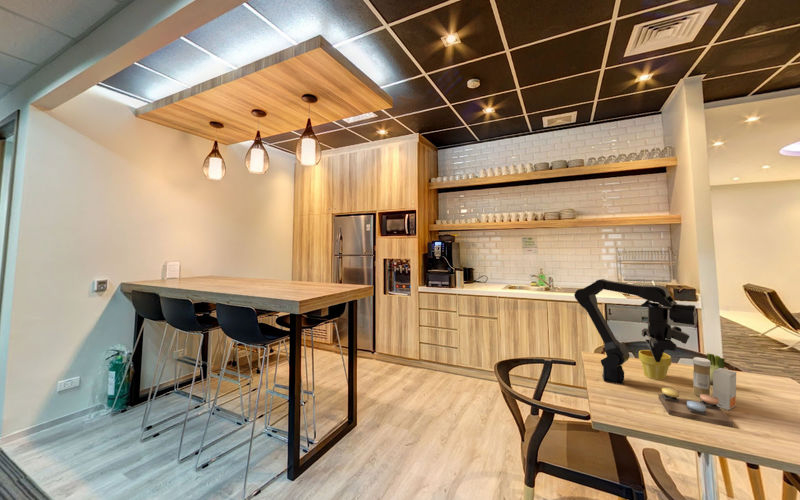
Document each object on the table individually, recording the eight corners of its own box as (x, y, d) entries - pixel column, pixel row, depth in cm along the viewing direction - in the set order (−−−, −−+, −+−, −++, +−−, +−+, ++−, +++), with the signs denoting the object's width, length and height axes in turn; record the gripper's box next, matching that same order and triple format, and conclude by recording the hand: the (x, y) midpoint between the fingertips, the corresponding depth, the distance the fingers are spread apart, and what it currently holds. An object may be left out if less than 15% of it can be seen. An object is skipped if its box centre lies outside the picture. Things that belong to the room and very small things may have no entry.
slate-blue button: (689, 412, 97) (689, 405, 97) (684, 406, 101) (684, 399, 101) (708, 416, 95) (708, 409, 95) (702, 409, 99) (702, 402, 99)
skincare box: (729, 411, 101) (730, 375, 101) (712, 405, 105) (712, 370, 104) (736, 406, 104) (736, 371, 103) (719, 400, 107) (719, 367, 107)
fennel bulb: (727, 389, 116) (727, 358, 116) (710, 386, 118) (710, 356, 118) (717, 382, 122) (718, 353, 122) (702, 380, 124) (702, 351, 123)
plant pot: (643, 380, 124) (643, 356, 124) (635, 370, 134) (635, 348, 134) (675, 384, 120) (675, 359, 120) (664, 374, 130) (664, 351, 130)
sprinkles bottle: (711, 396, 111) (712, 359, 111) (708, 399, 108) (708, 362, 108) (694, 391, 114) (695, 355, 114) (691, 394, 112) (691, 358, 112)
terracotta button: (703, 405, 100) (703, 398, 100) (697, 399, 104) (697, 392, 104) (721, 408, 98) (721, 401, 98) (715, 402, 102) (715, 395, 102)
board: (668, 414, 99) (668, 407, 99) (658, 398, 109) (658, 391, 109) (733, 427, 92) (733, 419, 92) (715, 408, 102) (715, 401, 102)
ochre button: (663, 398, 105) (664, 391, 105) (660, 392, 108) (660, 386, 108) (680, 401, 102) (680, 394, 102) (676, 395, 106) (676, 389, 106)
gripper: (696, 328, 100) (696, 375, 100) (677, 317, 117) (677, 357, 117) (654, 324, 105) (653, 369, 106) (641, 314, 122) (641, 352, 122)
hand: (657, 361), depth 112 cm, fingers closed
